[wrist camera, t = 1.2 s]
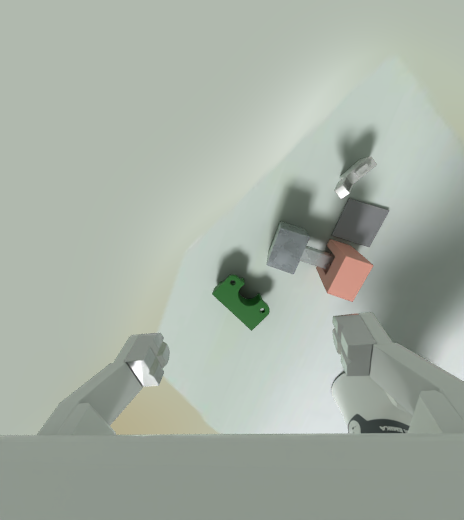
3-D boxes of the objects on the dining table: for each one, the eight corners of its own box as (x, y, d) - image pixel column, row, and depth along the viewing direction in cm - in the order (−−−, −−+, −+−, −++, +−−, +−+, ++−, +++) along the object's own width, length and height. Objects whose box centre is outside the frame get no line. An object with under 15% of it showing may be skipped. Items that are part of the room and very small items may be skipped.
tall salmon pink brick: (350, 245, 42) (373, 265, 32) (335, 274, 44) (352, 301, 34) (329, 238, 42) (346, 256, 32) (316, 268, 45) (327, 293, 35)
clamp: (260, 291, 54) (277, 314, 46) (243, 308, 54) (256, 334, 47) (226, 263, 48) (239, 284, 40) (208, 282, 49) (216, 306, 41)
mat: (388, 210, 39) (389, 210, 39) (368, 246, 42) (369, 247, 41) (348, 198, 40) (349, 198, 39) (331, 234, 42) (332, 235, 42)
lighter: (360, 158, 37) (380, 152, 30) (367, 166, 38) (388, 162, 30) (324, 189, 40) (335, 190, 33) (330, 196, 40) (342, 199, 33)
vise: (361, 247, 42) (377, 259, 35) (344, 279, 44) (356, 295, 38) (280, 221, 43) (280, 227, 37) (268, 253, 46) (266, 265, 39)
